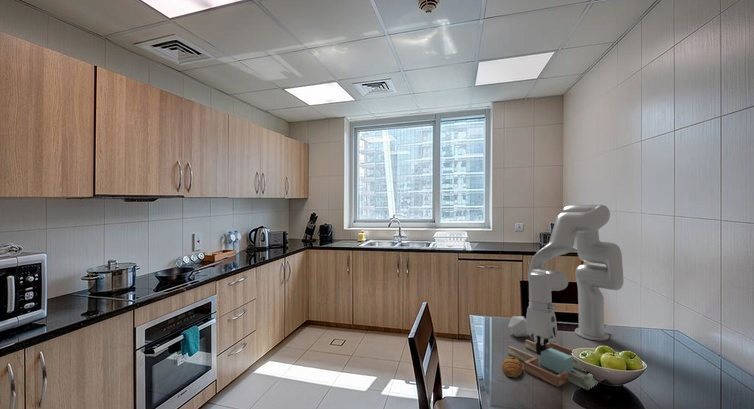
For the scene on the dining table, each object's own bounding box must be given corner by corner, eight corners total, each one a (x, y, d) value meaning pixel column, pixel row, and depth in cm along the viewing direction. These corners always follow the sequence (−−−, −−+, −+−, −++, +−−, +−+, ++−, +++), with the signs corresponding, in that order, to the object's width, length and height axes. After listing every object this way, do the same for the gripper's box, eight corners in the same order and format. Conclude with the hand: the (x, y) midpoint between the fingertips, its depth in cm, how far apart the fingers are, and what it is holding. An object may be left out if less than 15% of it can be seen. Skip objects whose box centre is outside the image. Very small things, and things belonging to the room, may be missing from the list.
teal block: (550, 361, 117) (550, 347, 117) (572, 370, 110) (572, 356, 110) (541, 365, 114) (540, 351, 115) (563, 375, 107) (562, 360, 108)
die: (529, 342, 135) (537, 321, 138) (509, 331, 137) (518, 310, 140) (520, 341, 143) (528, 321, 146) (502, 331, 144) (510, 311, 148)
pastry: (522, 381, 104) (522, 369, 104) (501, 377, 107) (500, 365, 107) (522, 368, 113) (522, 357, 113) (502, 364, 116) (502, 354, 116)
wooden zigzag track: (535, 343, 132) (535, 334, 133) (615, 374, 107) (614, 362, 107) (498, 357, 120) (497, 347, 120) (577, 396, 95) (577, 383, 95)
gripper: (566, 309, 113) (566, 359, 113) (528, 298, 126) (529, 344, 126) (554, 312, 110) (554, 365, 109) (516, 301, 123) (517, 348, 122)
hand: (541, 353), depth 118 cm, fingers closed
